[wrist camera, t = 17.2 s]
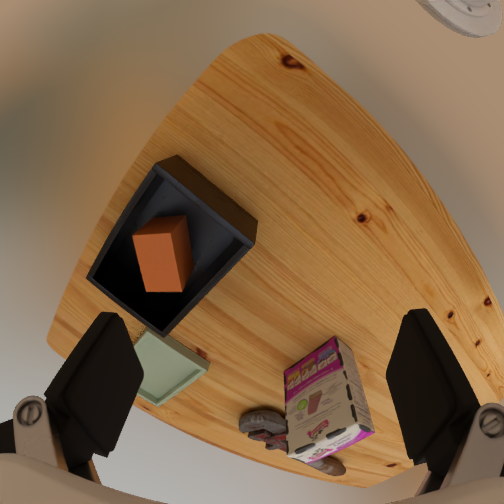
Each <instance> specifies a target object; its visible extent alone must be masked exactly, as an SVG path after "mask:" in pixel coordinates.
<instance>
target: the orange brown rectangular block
mask: <svg viewBox="0 0 504 504" xmlns="http://www.w3.org/2000/svg"><path fill="white" fill-rule="evenodd" d="M132 236H133V241H134V245H135V249H136V254H137V258H138V262H139V266H140V270H141V274H142V278H143V281H144V285H145V289H146V292H182V291H183V289H184V287H185V285H186V283H187V281H188V279H189V277H190V275H191V273H192V271H193V269H194V262H193V256H192V250H191V244H190V238H189V232H188V225H187V218H186V215H179V216H167V217H154V218H151V219H150V220H149V221H148V222H147V223H146V224H145V225H143V226H142V227H141V228H140V229H139V230H138V231H137V232H136V233H135V234H134V235H132Z"/></svg>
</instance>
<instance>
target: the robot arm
mask: <svg viewBox="0 0 504 504" xmlns="http://www.w3.org/2000/svg"><path fill="white" fill-rule="evenodd" d="M445 1H446V2H448V3H449V4H450V5H451V6H453V7H454V8H455V9H457V10H459V11H460V12H462V13H464V14H466V15H468V16H472V17H483V16H486V15H488V14H489V13H490V12H491V10H492V7H493V1H496V0H445ZM143 378H144V370H143V368H142V365H141V363H140V361H139V358H138V356H137V353H136V351H135V349H134V346H133V344H132V341H131V339H130V336H129V334H128V331H127V328H126V326H125V323H124V320H123V319H122V318H121V317H119V315H118V314H117V313H113V312H101V313H100V314H99V315H98V316H97V318H96V319H95V320H94V322H93V323H92V324H91V326H90V327H89V329H88V330H87V331H86V333H85V334H84V335H83V337H82V338H81V340H80V341H79V342H78V344H77V345H76V347H75V348H74V349H73V351H72V352H71V354H70V355H69V357H68V358H67V360H66V361H65V362H64V364H63V365H62V367H61V368H60V370H59V371H58V373H57V374H56V376H55V378H54V379H53V380H52V382H51V384H50V385H49V387H48V388H47V390H46V391H45V393H44V395H45V396H46V400H45V402H44V400H43V399H42V398H40V397H38V396H28V397H26V398H24V399H22V400H21V401H20V402H19V403H18V405H17V406H16V407H15V410H14V412H13V419H11V420H8V421H6V422H3V423H0V504H166V503H162V502H157V501H153V500H149V499H145V498H141V497H138V496H134V495H131V494H127V493H124V492H121V491H118V490H115V489H112V488H109V487H106V486H103V485H102V484H101V481H100V479H99V476H98V474H97V471H96V469H95V466H94V463H93V461H92V455H93V453H95V454H98V455H101V456H104V457H108V455H109V452H110V451H113V450H114V448H115V446H116V443H117V441H118V438H119V436H120V433H121V431H122V428H123V426H124V423H125V421H126V419H127V416H128V414H129V411H130V409H131V407H132V404H133V402H134V400H135V397H136V395H137V393H138V390H139V388H140V386H141V383H142V381H143ZM386 380H387V383H388V386H389V390H390V393H391V396H392V400H393V403H394V406H395V410H396V413H397V417H398V420H399V424H400V428H401V431H402V435H403V439H404V443H405V447H406V451H407V455H408V457H409V459H413V462H414V466H415V465H419V464H422V463H426V462H427V466H428V470H429V471H428V473H427V475H426V476H425V478H424V480H423V482H422V484H421V485H420V487H419V489H418V491H417V493H416V494H415V496H414V497H412V498H408V499H404V500H401V501H396V502H391V503H387V504H504V407H503V406H501V405H499V404H496V403H487V404H485V405H483V406H480V404H479V402H478V399H477V397H476V395H475V393H474V391H473V389H472V387H471V385H470V383H469V381H468V379H467V377H466V375H465V373H464V372H463V370H462V368H461V366H460V364H459V362H458V360H457V359H456V357H455V355H454V353H453V351H452V350H451V348H450V346H449V344H448V343H447V341H446V339H445V338H444V336H443V334H442V332H441V331H440V329H439V327H438V326H437V324H436V323H435V321H434V319H433V318H432V316H431V314H430V313H429V311H428V310H427V309H425V308H422V309H413V310H409V312H408V314H407V315H404V316H403V319H402V323H401V326H400V330H399V333H398V336H397V340H396V343H395V346H394V349H393V352H392V355H391V358H390V361H389V364H388V367H387V370H386Z"/></svg>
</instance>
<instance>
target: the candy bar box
mask: <svg viewBox="0 0 504 504" xmlns="http://www.w3.org/2000/svg"><path fill="white" fill-rule="evenodd" d="M284 390H285V411H286V413H285V414H286V448H287V457H290V458H292V459H296V460H298V461H303V463H308V464H309V463H312V462H314V461H317V460H319V459H322V458H324V457H326V456H329V455H331V454H333V453H335V452H338V451H340V450H342V449H344V448H346V447H348V446H350V445H352V444H354V443H356V442H358V441H360V440H362V439H364V438H366V437H368V436H370V435H372V434H374V433H375V431H374V427H373V423H372V419H371V416H370V412H369V408H368V404H367V400H366V397H365V393H364V390H363V386H362V382H361V379H360V376H359V372H358V369H357V366H356V362H355V359H354V356H353V353H352V350H351V349H350V348H349V347H348V346H346V345H345V344H344V343H342V342H341V341H340V340H339V339H338V338H337V337H336V336H334V337H333V338H331V339H330V340H329V341H327V342H326V343H325V344H323V345H322V346H320V347H319V348H318V349H316V350H315V351H314V352H312V353H311V354H309V355H308V356H307V357H305V358H304V359H302V360H301V361H299V362H298V363H296V364H295V365H293V366H292V367H290V368H289V369H287V370H286V371H284Z"/></svg>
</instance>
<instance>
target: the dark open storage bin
mask: <svg viewBox="0 0 504 504" xmlns="http://www.w3.org/2000/svg"><path fill="white" fill-rule="evenodd" d="M179 215H186V218H187V225H188V232H189V238H190V244H191V250H192V256H193V262H194V269H193V271H192V273H191V275H190V277H189V279H188V281H187V283H186V285H185V287H184V289H183V291H182V292H146V289H145V285H144V281H143V278H142V274H141V270H140V266H139V262H138V258H137V254H136V249H135V245H134V241H133V236H132V235H134V234H135V233H136V232H137V231H138V230H139V229H140V228H141V227H142V226H143V225H145V224H146V223H147V222H148V221H149V220H150V219H151V218H154V217H167V216H179ZM257 224H258V221H257V220H256V219H255V218H253V217H252V216H251V215H250V214H249V213H248V212H246V211H245V210H244V209H243V208H242V207H240V206H239V205H238V204H237V203H236V202H234V201H233V200H232V199H231V198H230V197H228V196H227V195H226V194H225V193H224V192H222V191H221V190H220V189H219V188H218V187H216V186H215V185H214V184H213V183H211V182H210V181H209V180H208V179H207V178H205V177H204V176H203V175H202V174H201V173H199V172H198V171H197V170H196V169H194V168H193V167H192V166H191V165H189V164H188V163H187V162H186V161H185V160H183V159H182V158H181V157H180V156H178V155H175V156H172V157H169V158H167V159H164V160H162V161H159V162H156V163H155V164H154V166H153V167H152V169H151V170H150V171H149V173H148V174H147V176H146V177H145V179H144V180H143V182H142V183H141V185H140V186H139V188H138V189H137V191H136V192H135V194H134V195H133V197H132V198H131V200H130V201H129V203H128V205H127V206H126V208H125V209H124V211H123V213H122V214H121V216H120V218H119V219H118V221H117V223H116V224H115V226H114V228H113V229H112V231H111V233H110V234H109V236H108V238H107V240H106V241H105V243H104V245H103V247H102V248H101V250H100V252H99V254H98V256H97V258H96V259H95V261H94V263H93V265H92V267H91V269H90V271H89V273H88V275H87V277H86V279H87V280H88V281H90V282H91V283H92V284H93V285H94V286H96V287H97V288H98V289H99V290H100V291H102V292H103V293H104V294H105V295H107V296H108V297H109V298H110V299H112V300H113V301H114V302H115V303H117V304H118V305H119V306H120V307H122V308H123V309H124V310H126V311H127V312H128V313H130V314H131V315H132V316H133V317H135V318H136V319H137V320H139V321H140V322H142V323H143V324H144V325H146V326H147V327H148V328H150V329H151V330H153V331H154V332H155V333H157V334H158V335H160V336H161V337H163V338H165V337H166V336H167V335H168V334H169V333H170V332H171V331H172V330H173V328H174V327H175V326H176V325H177V324H178V323H179V322H180V321H181V320H182V319H183V318H184V317H185V316H186V315H187V314H188V313H189V312H190V311H191V310H192V309H193V308H194V307H195V306H196V305H197V304H198V303H199V302H200V301H201V299H202V298H203V297H204V296H205V295H206V294H207V293H208V292H209V291H210V290H211V289H212V288H213V287H214V286H215V285H216V284H217V283H218V282H219V281H220V280H221V279H222V278H223V277H224V276H225V275H226V274H227V273H228V272H229V271H230V270H231V268H232V267H233V266H234V265H235V264H236V263H237V262H238V261H239V260H240V259H241V258H242V257H243V256H244V255H245V254H246V253H247V252H248V251H249V250H250V249H251V248H252V247H253V246H254V245H255V240H256V232H257Z"/></svg>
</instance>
